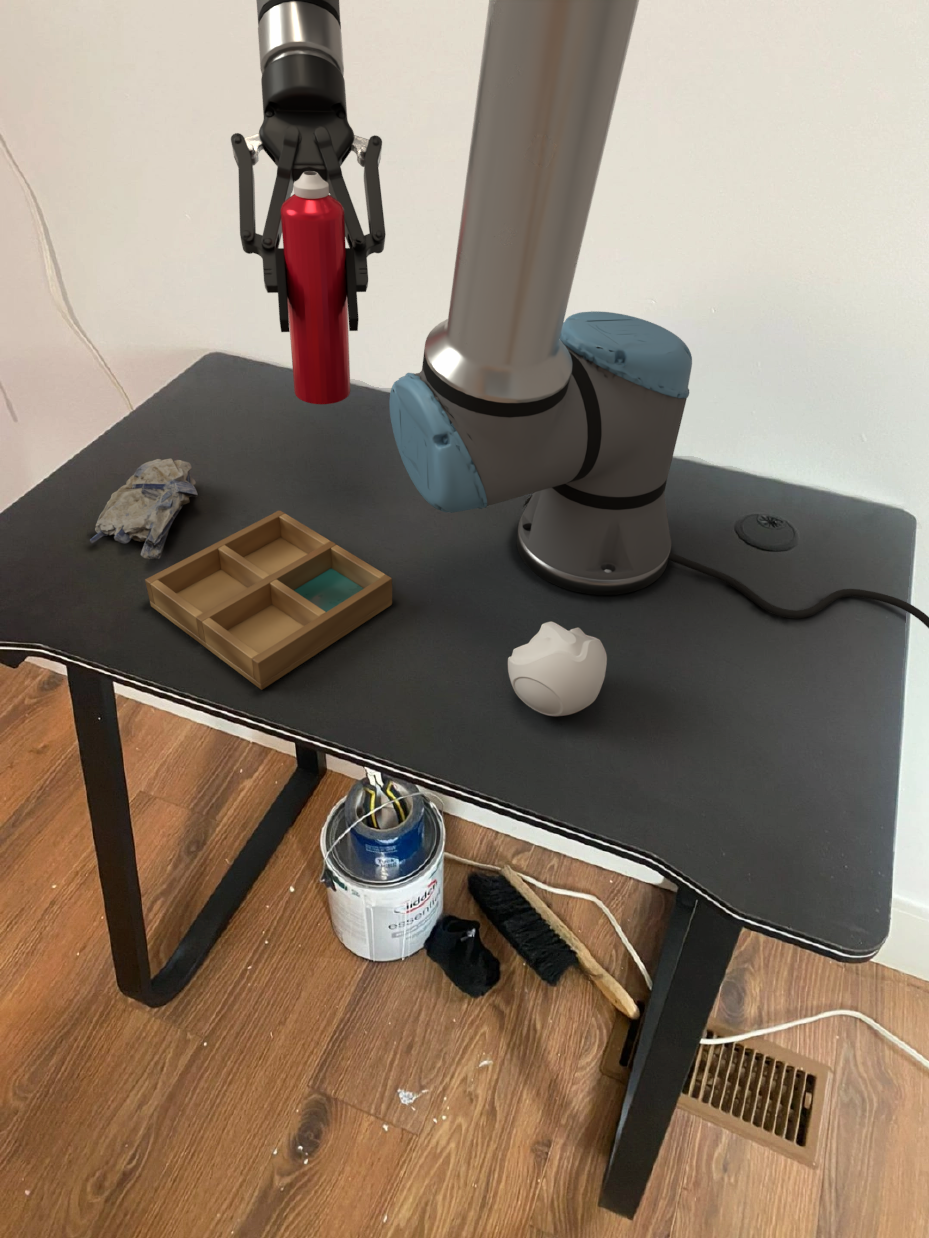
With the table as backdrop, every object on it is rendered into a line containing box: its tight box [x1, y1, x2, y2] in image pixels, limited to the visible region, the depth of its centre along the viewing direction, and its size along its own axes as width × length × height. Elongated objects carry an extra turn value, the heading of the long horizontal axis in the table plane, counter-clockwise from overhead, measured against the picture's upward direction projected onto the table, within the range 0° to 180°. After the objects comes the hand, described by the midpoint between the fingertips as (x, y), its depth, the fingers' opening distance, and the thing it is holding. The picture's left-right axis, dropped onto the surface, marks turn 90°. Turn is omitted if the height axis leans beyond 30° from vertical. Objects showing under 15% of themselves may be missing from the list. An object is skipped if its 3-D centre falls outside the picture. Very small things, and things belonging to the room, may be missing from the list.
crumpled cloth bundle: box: [89, 458, 198, 560], centre depth 91 cm, size 15×8×4 cm, turn 168°
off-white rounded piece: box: [507, 621, 608, 717], centre depth 74 cm, size 8×8×8 cm
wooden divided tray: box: [144, 510, 393, 691], centre depth 83 cm, size 15×15×3 cm
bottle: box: [281, 171, 351, 405], centre depth 84 cm, size 5×6×20 cm
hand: (319, 325), depth 82 cm, fingers closed on bottle, 5 cm apart
